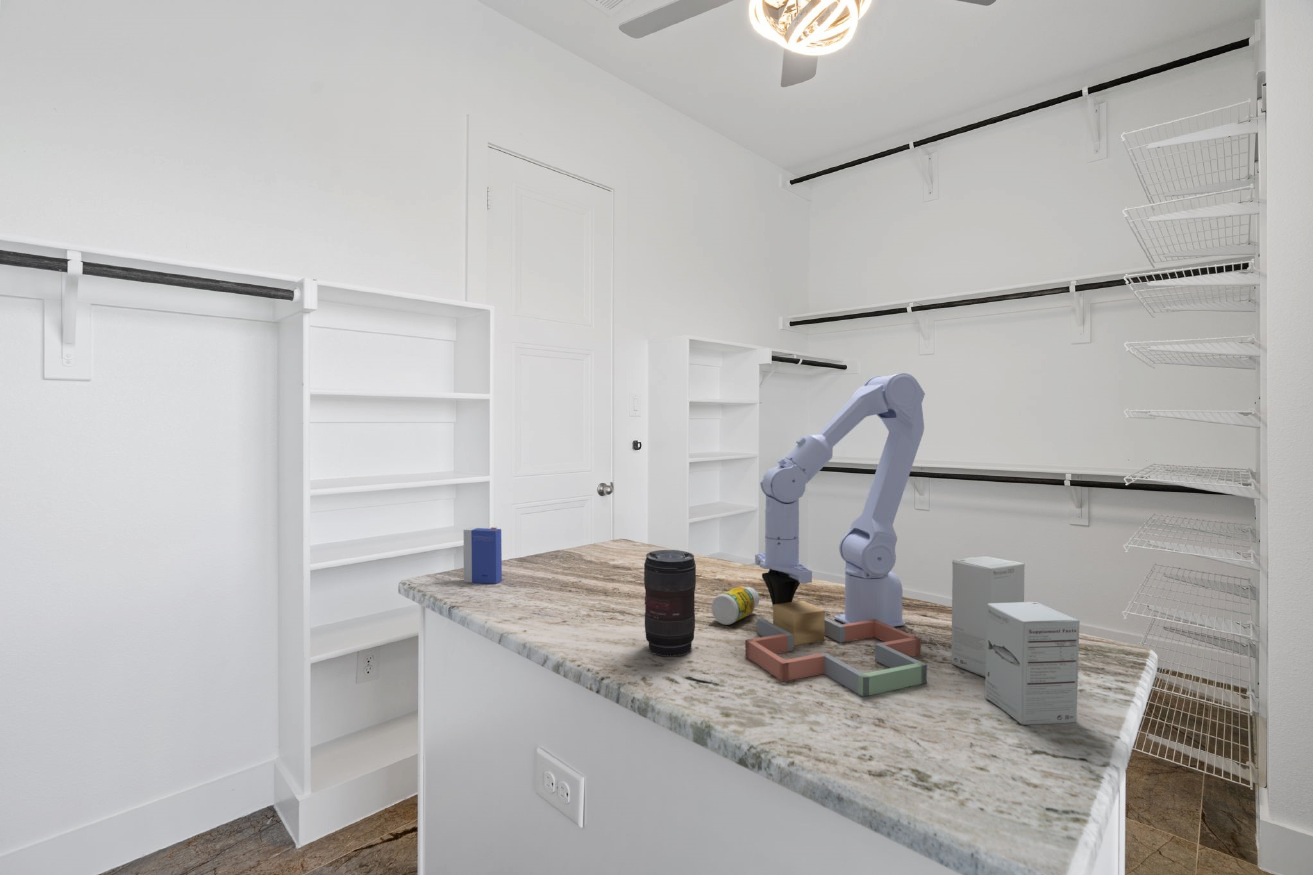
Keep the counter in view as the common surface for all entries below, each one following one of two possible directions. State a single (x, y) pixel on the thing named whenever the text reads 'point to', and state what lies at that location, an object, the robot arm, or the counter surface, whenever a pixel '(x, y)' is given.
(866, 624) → the plus maze
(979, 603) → the skincare box
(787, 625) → the oak block
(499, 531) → the walkman
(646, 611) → the camera lens
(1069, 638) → the supplement box
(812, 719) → the counter surface
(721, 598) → the supplement bottle
